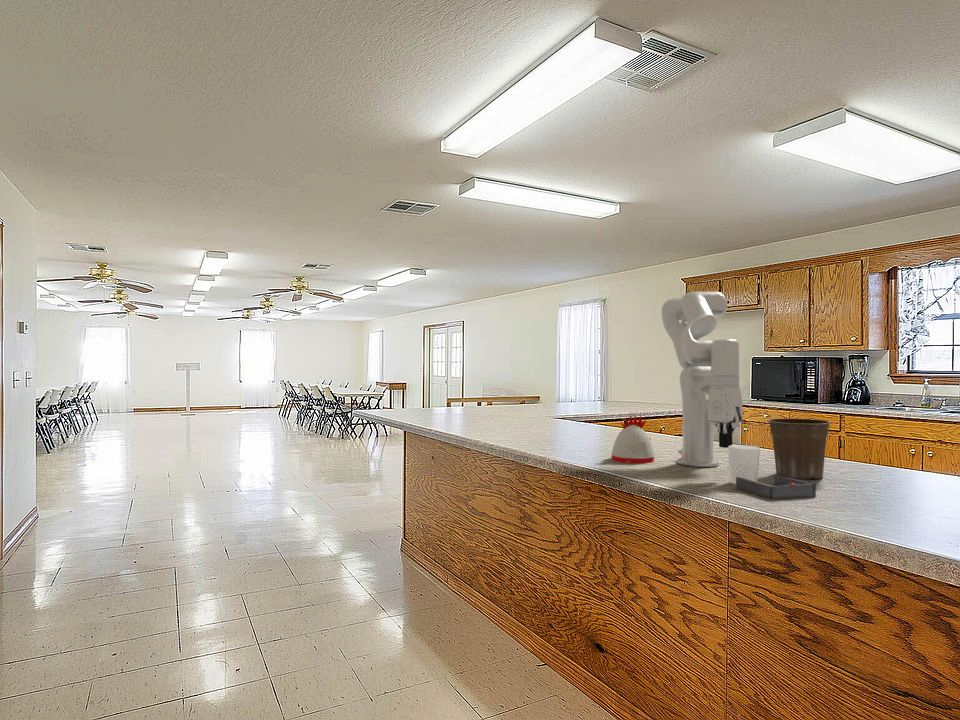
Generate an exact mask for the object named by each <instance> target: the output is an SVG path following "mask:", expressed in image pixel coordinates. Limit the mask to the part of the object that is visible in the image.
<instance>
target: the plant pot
mask: <svg viewBox="0 0 960 720" xmlns="http://www.w3.org/2000/svg"><path fill="white" fill-rule="evenodd" d="M767 422H768V424H769V427H770V435H771V437H772V446H773V447H772V448H773V455H774V463H775V465H774V466H775V473H776V474H775V475H780V476H785V477H789V478H793V479H797V480H810V479H814V480H818V479H819V480H820V479H822V478H823V477H824V469H825V468H824V467H825V458H826V456H825V455H826V446H827V438H828V436H829V428H830V425H831V424H832V422H831V421H829V420H824V419H814V418H789V417H788V418H787V417H786V418H771V419H768V420H767Z"/></svg>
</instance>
